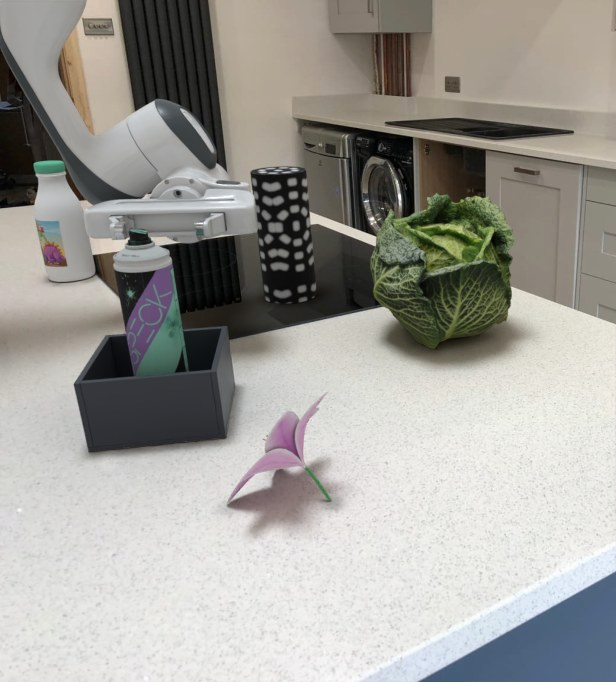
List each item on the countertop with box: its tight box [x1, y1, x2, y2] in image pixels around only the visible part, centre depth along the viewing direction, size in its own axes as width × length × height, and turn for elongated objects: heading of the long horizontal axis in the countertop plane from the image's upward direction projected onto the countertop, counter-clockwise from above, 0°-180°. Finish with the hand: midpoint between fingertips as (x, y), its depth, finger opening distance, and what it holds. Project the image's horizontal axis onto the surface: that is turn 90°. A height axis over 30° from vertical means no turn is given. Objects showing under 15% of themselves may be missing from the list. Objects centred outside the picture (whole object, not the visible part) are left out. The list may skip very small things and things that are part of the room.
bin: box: [73, 325, 236, 453], centre depth 79 cm, size 13×13×8 cm
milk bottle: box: [33, 160, 96, 283], centre depth 126 cm, size 8×8×20 cm
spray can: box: [112, 229, 189, 376], centre depth 76 cm, size 6×6×20 cm
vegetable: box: [370, 192, 516, 350], centre depth 100 cm, size 20×19×20 cm
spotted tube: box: [249, 165, 318, 305], centre depth 115 cm, size 8×8×20 cm
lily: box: [226, 390, 332, 505], centre depth 64 cm, size 12×12×10 cm
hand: (159, 231), depth 84 cm, fingers open, 8 cm apart
